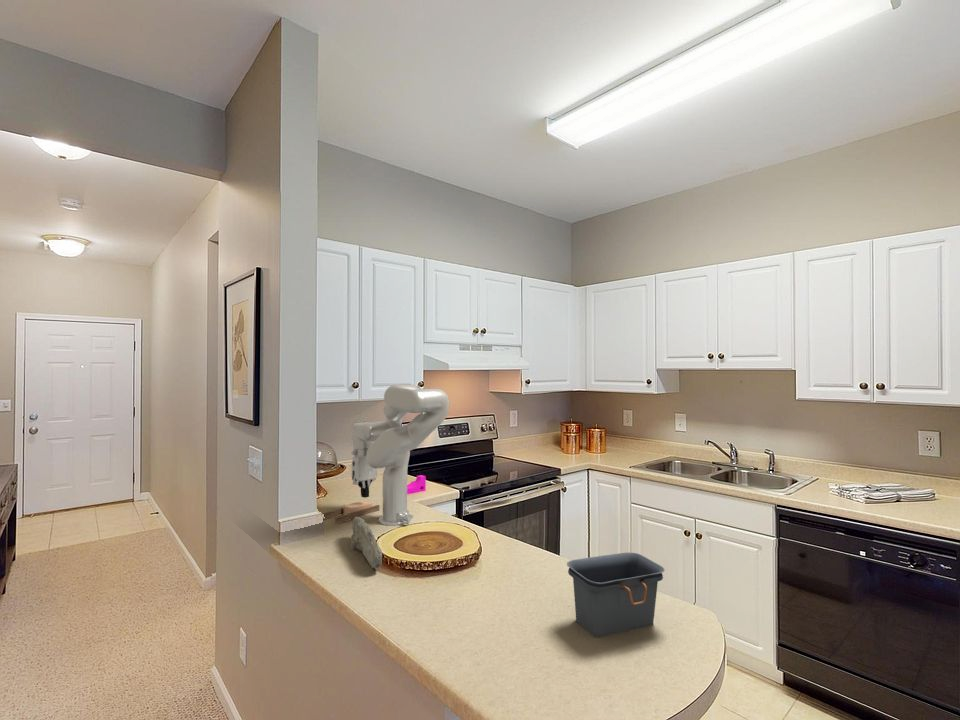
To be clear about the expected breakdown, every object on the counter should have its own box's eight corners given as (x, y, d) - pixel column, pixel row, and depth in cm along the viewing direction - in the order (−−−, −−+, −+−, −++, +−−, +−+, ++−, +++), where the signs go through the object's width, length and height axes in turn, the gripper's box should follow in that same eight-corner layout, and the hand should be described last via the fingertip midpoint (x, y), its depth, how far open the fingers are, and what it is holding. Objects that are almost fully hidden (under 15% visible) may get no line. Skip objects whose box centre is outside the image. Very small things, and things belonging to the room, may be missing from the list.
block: (372, 513, 207) (372, 503, 207) (350, 518, 199) (350, 508, 199) (364, 510, 211) (364, 500, 211) (343, 515, 204) (343, 505, 204)
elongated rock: (388, 575, 145) (388, 541, 145) (370, 579, 143) (370, 545, 143) (360, 538, 177) (360, 510, 177) (344, 540, 174) (344, 512, 174)
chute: (379, 511, 208) (379, 505, 208) (336, 524, 191) (336, 518, 191) (364, 507, 214) (364, 501, 214) (321, 519, 197) (321, 513, 197)
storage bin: (633, 604, 128) (633, 549, 128) (677, 635, 114) (677, 572, 114) (561, 620, 120) (561, 561, 120) (599, 655, 106) (599, 588, 106)
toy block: (418, 489, 244) (418, 474, 244) (425, 491, 239) (425, 476, 239) (391, 494, 235) (391, 478, 235) (398, 497, 230) (398, 481, 230)
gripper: (353, 455, 199) (355, 501, 198) (383, 450, 210) (385, 494, 209) (342, 454, 203) (344, 499, 203) (372, 449, 215) (374, 492, 214)
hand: (365, 496), depth 206 cm, fingers closed
